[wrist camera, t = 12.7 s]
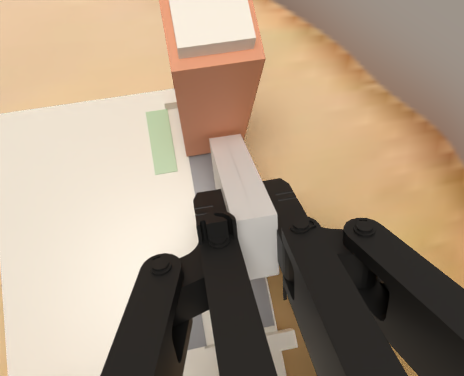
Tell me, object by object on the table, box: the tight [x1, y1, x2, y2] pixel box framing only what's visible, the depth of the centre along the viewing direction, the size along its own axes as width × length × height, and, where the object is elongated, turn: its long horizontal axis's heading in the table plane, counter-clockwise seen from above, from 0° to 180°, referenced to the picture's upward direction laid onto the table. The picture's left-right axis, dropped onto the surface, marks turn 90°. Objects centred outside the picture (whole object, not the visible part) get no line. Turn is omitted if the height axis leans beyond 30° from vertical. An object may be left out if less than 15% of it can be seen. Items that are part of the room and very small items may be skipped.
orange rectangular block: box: [159, 0, 266, 157], centre depth 17 cm, size 3×3×10 cm
